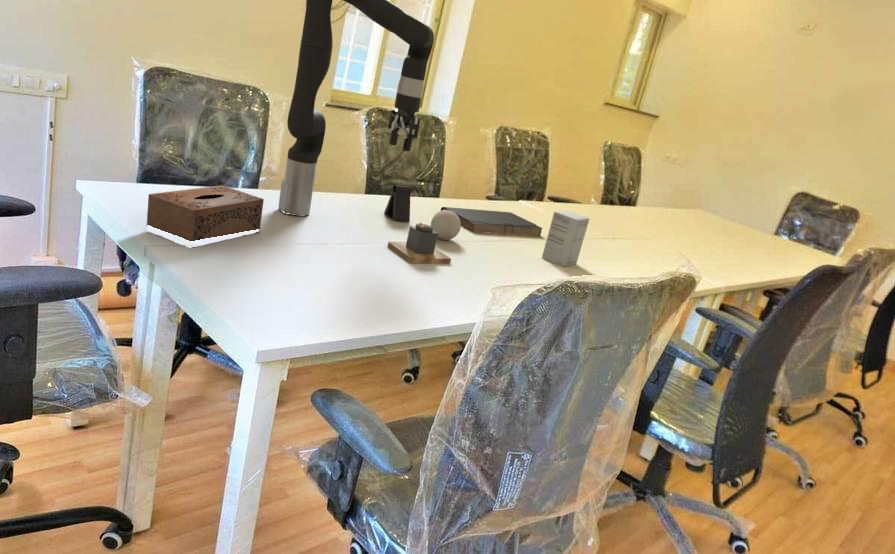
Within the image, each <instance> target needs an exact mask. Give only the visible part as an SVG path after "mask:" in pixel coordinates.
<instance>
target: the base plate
mask: <svg viewBox="0 0 895 554" xmlns="http://www.w3.org/2000/svg"><path fill="white" fill-rule="evenodd" d="M406 243H407V241H406V242H405V241H404V242H403V241H388V242H387V247H388V248H389V249H390V248H391V249H390V250H392V251H393V252H394V251H395V253H396V254H397V255H399V257H401V258H403V259H404V260H405V261H406V262H408V263H410V264H451V262H452V258H451V257H450V256H448V255H446V254H445V253H443V252H442V251H440V250H439V249H438V248H436V247H435V250H434V254H416V253H414V252H413V251H412V250H410V249H409V248H407V247H406Z"/></svg>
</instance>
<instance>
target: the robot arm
mask: <svg viewBox="0 0 895 554" xmlns="http://www.w3.org/2000/svg"><path fill="white" fill-rule="evenodd" d="M342 1H343V2H346V3H348V4H349V5H351V6H353V7H354V8H355V9H357V10H358V11H360V12H361V13H362V14H364V15H365V16H366V17H368V18H369V19H370V20H372V21H373V22H375V24H377V25H379V26H380V27H382V28H383V29H385V30H386V31H388V32H390V33H393V34H394V35H395V36H396V37H398V38H399V39H400V40H401V41H404V43H406V44H408V45H409V46H408V50H407V54H406V57H404V59H403V63H402V66H401V72H400V78H399V81H398V84H397V89H396V94H395V100H394V104H393V105H394V108H395V109H391V111H390V116H389V119H388V125H387V129H388V130H389V131H390V138H389V143H388V144H389V145H390V146H396V145H397V144H398V138H399V132H400V130H402V131H403V133H404V139H403V145H402V150H403V152H410V151H411V147H412V143H413V140H414V139H417V138H418V136H419V130H420V123H421V118H420V117H415V114H416V113H419V111H420V109H421V108H420V106H421V104H422V97H423V93H424V83H425V77H426V72H427V68H428V67H427V65H428V62H429V59H430V56H431V53H432V50H433V46H434V40H435V35H434V34H435V33H434V31H433V28H432V27H430V26H429V25H428V24H425V23H423V22H422V21H420V20H418V19H417V18H415V17H414V16H411V15H410V14H408V13H407V12H405V10H403V9H402V8H401V7H399V6H397V5H396V4H394V3H392V2H391V1H390V0H342ZM332 5H333V0H306V5H305V6H306V7H305V8H306V9H305V15H304V19H303V27H302V35H301V40H300V47H299V54H298V61H297V64H298V65H297V71H296V76H295V81H294V90H293V95H292V99H291V103H290V106H289V110H288V114H287V115H288V116H287V120H286V121H287V122H286V123H287V128H288V132H289V134H290V135H291V136H292V138H295V139H296V141H295V142H294V144H293V145H292V146H291V147H290V148H289V149H288V152H287V155H286V157H287V158H286V165H285V171H284V180H283V179H282V180H281V186H280V192H279V198H278V199H279V200H278V207H279V208H280V209H281V210H282V211H284V212H285V213H290V214H295V215H304V216H303V217H306V216H305V215H308V216H309V215H310V212H311V205H312V199H313V198H312V197H313V194H314V193H313V192H314V185H315V179H316V172H317V165H318V161H319V160H318V158H319V156H320V155H321V153H322V149H323V145H324V139H325V134H326V128H327V127H326V125H327V123H326V118H325V116H324V115H323V113H322V112H321V111H320V110H318V109H316V108H315V103H316V98H317V94H318V91H319V89H320V87H321V86H322V84H323V82H324V80H325V78H326V76H327V74H328V71H329V70H330V65H331V60H332V53H333V44H334V43H333V31H332V30H333V29H332V19H331V16H332V15H331V13H332Z"/></svg>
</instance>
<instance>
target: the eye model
mask: <svg viewBox="0 0 895 554" xmlns="http://www.w3.org/2000/svg"><path fill="white" fill-rule="evenodd" d="M430 226H432V227H433V230H434V231H435V232H437V233H438V236H437V239H440V240H442V241H443V240H444V241H448V240H449V241H450V240H452V239H454V238H455V237H457V236H458V234H459V232H460V231H461V228H462V226H461V222H460V219H459V217H458V216H457V214H455V213H454V212H452V211H450V210H442V211H441V210H439V211H438V212H436V213H435V214H434V215H433V217H432V219H431V222H430Z"/></svg>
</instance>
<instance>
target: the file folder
mask: <svg viewBox="0 0 895 554" xmlns="http://www.w3.org/2000/svg"><path fill="white" fill-rule="evenodd" d="M442 210H450V211H452V212H454V213H455V214H457V216H458V217H459V219H460V222H461V225H462V226H461V227H463V226H464V227H463V228H465V229H466V228H467V230H468V229H469V230H468V231H470V232H471V231H472V233H482V232H490V233H489V234H503V235H505V233H511V234H512V235H523V234H528V235H527V236H534V235H539V236H538V237H541V235H542V231H543V227H541V226H539V225H537V224H535V223H534V222H532V221H530V220H527V219H526V218H523V217H521V216H519V215H517V214H515V213H514V212H511V211H497V210H486V209H485V210H484V209H475V208H474V209H473V208H463V207H450V206H449V207H448V206H442V207H440V211H442ZM511 234H510V235H511Z"/></svg>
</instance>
